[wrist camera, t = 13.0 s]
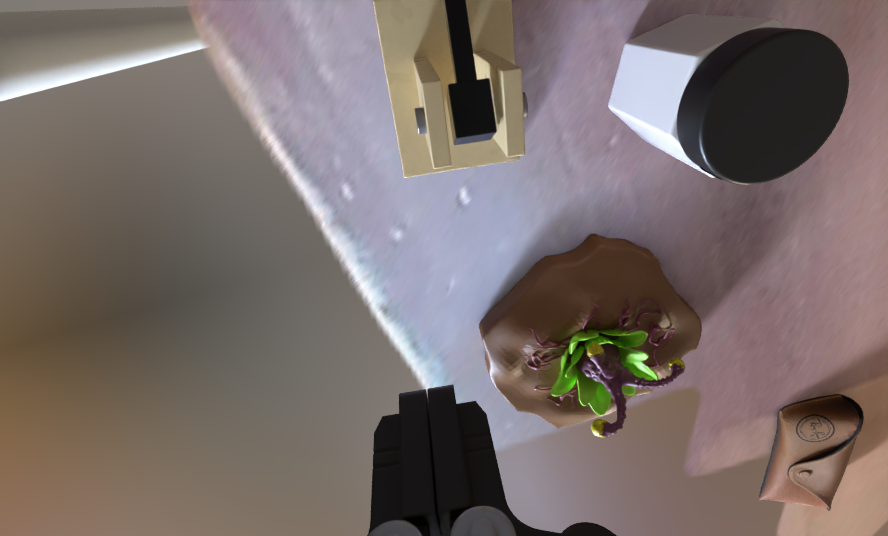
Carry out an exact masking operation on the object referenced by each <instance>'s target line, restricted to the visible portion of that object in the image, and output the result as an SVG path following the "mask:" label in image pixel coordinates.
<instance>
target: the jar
mask: <svg viewBox="0 0 888 536" xmlns="http://www.w3.org/2000/svg"><path fill="white" fill-rule="evenodd" d="M848 87H849V74H848V67H847V64H846V60H845V58H844V55H843V53H842V52H841V50H840V48H839V47H838V46H837V45H836V44H835V43H834V42H833V41H832V40H831V39H829V38H828V37H826V36H825V35H822V34H820V33H818V32H815V31H811V30H802V29H788V28H785V27H784V26H783V25H782V24H781V22H780V21H779V20H778V19H776V18H757V17H735V16H714V15H693V14H685V15H683V16H681V17H679V18H676V19H674V20H672V21H670V22H668V23H666V24H663V25H661V26H659V27H657V28H655V29H653V30H650V31H648V32H646V33H644V34H642V35H639V36H637V37H635V38H633V39H631V40H629V41H627V42H626V43H625V45H624V49H623V53H622V56H621V60H620V64H619V67H618V71H617V75H616V78H615V82H614V86H613V89H612V93H611V97H610V100H609V104H608V107H609V109H610V110H612V111H613V112H614V113H615V114H616V115H617V116H618V117H619V118H620V119H622V120H623V121H624V122H625V123H626V124H627V125H628V126H629V127H630V128H632V129H633V130H634V131H635V132H636V133H637V134H638V135H639V136H640V137H641V138H643V139H644V140H645V141H646V142H648V143H650V144H652V145H654V146H655V147H657V148H659V149H661V150H663V151H664V152H666V153H668V154H670V155H672V156H673V157H675V158H677V159H679V160H681V161H682V162H684V163H686V164H688V165H690V166H691V167H693V168H695V169H697V170H699V171H700V172H702V173H704V174H706V175H708V176H709V177H712V178H713V177H716V178H719V179H721V180H725V181H727V182H730V183H734V184H741V185H754V184H761V183H765V182H769V181H772V180H774V179H777V178H779V177H782V176H784V175H786V174H788V173H790V172H791V171H793V170H794V169H796V168H798V167H799V166H800V165H802V164H803V163H804V162H806V161H807V160H808V159H809V158H810V157H811V156H812V155H813V154H814V153H816V152H817V150H818V149H819V148H820V147H821V146H822V145H823V144H824V142H825V141H826V140H827V139H828V137H829V136H830V134H831V133H832V131H833V130H834V128H835V126H836V124H837V123H838V121H839V119H840V116H841V114H842V112H843V109H844V106H845V103H846V99H847V94H848Z"/></svg>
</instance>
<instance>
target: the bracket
mask: <svg viewBox="0 0 888 536" xmlns="http://www.w3.org/2000/svg"><path fill="white" fill-rule="evenodd" d="M373 5H374V10H375V16H376V22H377V27H378V33H379V39H380V44H381V50H382V56H383V61H384V67H385V73H386V78H387V84H388V89H389V95H390V101H391V106H392V112H393V118H394V123H395V129H396V135H397V140H398V146H399V152H400V157H401V163H402V169H403V174H404V177H405V178H406V177H413V176H419V175H426V174H432V173H439V172H445V171H451V170H458V169H464V168H471V167H477V166H484V165H490V164H497V163H503V162H509V161H516V160H519V156H520V155H525V138H524V119H525V118H526V117H527V114H528V104H527V98H526V95H525V93H524V92H522V69H521V68H520V67H518V66H516V65H515V59H514V39H513V18H512V0H466V6H467V13H468V20H469V27H470V33H471V40H472V47H473V54H474V61H475V68H476V75H477V80H478V79H485V78H489V79H490V85H491V92H492V99H493V106H494V113H495V120H496V127H497V132H496V133H495V135H494V136H493V138H492V139H491V140H487V141H481V142H474V143H468V144H461V145H454V144H453V138H452V131H451V125H450V118H449V112H448V105H447V98H446V96H447V89H448V84H452V83H455V78H454V72H453V65H452V58H451V52H450V45H449V38H448V31H447V25H446V18H445V11H444V5H443V0H373Z"/></svg>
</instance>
